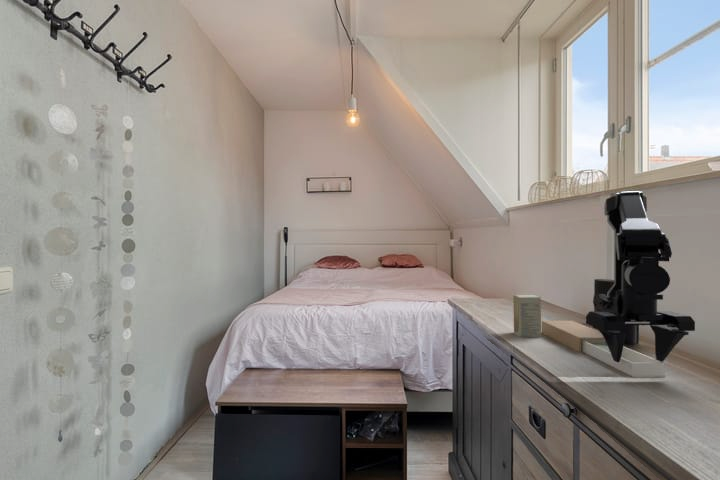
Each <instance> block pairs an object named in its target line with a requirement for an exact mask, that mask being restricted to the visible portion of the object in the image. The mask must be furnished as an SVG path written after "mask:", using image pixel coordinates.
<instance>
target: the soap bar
mask: <svg viewBox="0 0 720 480" xmlns="http://www.w3.org/2000/svg"><path fill="white" fill-rule="evenodd" d="M593 345H595V346H597V347H599V348H601V349H604V350H606V351H608V352H610V350H609V348H608V346H606V345H604V344H593Z"/></svg>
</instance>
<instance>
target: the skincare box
mask: <svg viewBox="0 0 720 480" xmlns="http://www.w3.org/2000/svg"><path fill="white" fill-rule="evenodd" d="M512 297H513V298H512V299H513V301H512V302H513V333H514V334H515V335H516V336H518V338H519V337H520V338H542V302H541V301H542V299H541V296H538V295H536V294H513V296H512Z"/></svg>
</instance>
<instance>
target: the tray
mask: <svg viewBox="0 0 720 480" xmlns="http://www.w3.org/2000/svg"><path fill="white" fill-rule="evenodd" d="M593 344H604V345H606V346H608V345H607V343H606V340H605V339H581V352H582V353H585V354H587V355H588V356H590V357H593V358H594V359H597V360H598V361H601V362H603V363H604V364H607V365H609V366H611V367H612V368H614V369H616V370H618V371H621V372H622V373H624V374H626V375H629V376H628V377H629V378H630V379H657V378H658V379H665V377H666V375H665V373H666V362H664V361H663V362H661V361H658V360H656V358H653V357H650V356H648V355H646V354H644V353H641V352H638V351H636V350H634V349H632V348H628V347H626V346H625V345H624V346H623V351H622V356H621V359H620V362H616V361H614V360H613V358H612V355H611V353H610V352H608V351H606V350H604V349H601V348H599V347H597V346H595V345H593Z"/></svg>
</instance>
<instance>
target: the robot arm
mask: <svg viewBox="0 0 720 480" xmlns="http://www.w3.org/2000/svg"><path fill="white" fill-rule="evenodd" d="M647 201H648V199H647V196H645V195H644V193H643V191H639V190H631V191H619V192H617V193H615V195H613V196H611V197H608V198H606V199H605V202H604V209H603V210H604V211H603V212H604V213H603V214H604V216H606V217H607V219H606V220H607V221H606V222H607V223H608V225H609V226H610V227H611V229H612V230H613V234H614V236H613V244H614V246H613V248H614V249H613V253H614V254H613V255H614V258H613V259H614V261H613V267H614V268H613V278H614V279H613V280H614V285H613V286H612V287H611V288H610V290H609V291H608V292H607V296H606V295H605V294H597V295H594V294H593V299H592V300H593V301H592V304H593V308H594V307H595V308H596V309H601V310H602V311H594V310H592V311H591V310H590V311H589V312H587V314H586V315H585V324H586V325H590V326H591V328H592V329H595V330H597V331H600V332H601V334H602V335H603V337H604V339H605V340H606V343H607V345H608V348H609V350H610V353H611V355H612V358H613V360H614V361H616V362H620V359H621V356H622V351H623V346H624V347H625V345H627V346H635V345H637V344H639V343H640V341H639V340H640V326H650V329H651V330H652V332H653V333H654V347H655V350H654V353H655V359H656V360H658V361H661V362H663V363H664V361H665V360H666V358H667V357H668V356H669V354H671V352H672V350H674V348H675V347H676V346H677V344H678V343H680V341H681V340H682V339H683V338H684V337H685V336H689V332H695V331H696V322H695V320H694V319H693V318H692V316H691V315H687V314H683V313H678V312H674V311H669V310H667V311H663V310H662V311H660V310H659V311H658V300H659V301H660V300H664V294H661V293H662V292H664V291H665V290H667V288H668V287H669V286H670V283H671V277H670V275H669V272H668V271H667V270H666V269H665V268H663V266H661V265H659V264H660V262H668V263H669V262H670V258H672V255H673V252H672V248H671V244H670V241H669V238H668V237H667V236H666V234H665V232H662V230H661V228H660V227H659V224H658V223H656V222H654V221H652V220H649V219H648V216H647V210H648V204H647V203H648V202H647Z"/></svg>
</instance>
